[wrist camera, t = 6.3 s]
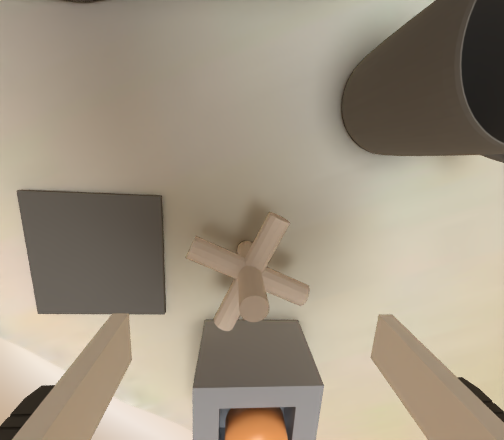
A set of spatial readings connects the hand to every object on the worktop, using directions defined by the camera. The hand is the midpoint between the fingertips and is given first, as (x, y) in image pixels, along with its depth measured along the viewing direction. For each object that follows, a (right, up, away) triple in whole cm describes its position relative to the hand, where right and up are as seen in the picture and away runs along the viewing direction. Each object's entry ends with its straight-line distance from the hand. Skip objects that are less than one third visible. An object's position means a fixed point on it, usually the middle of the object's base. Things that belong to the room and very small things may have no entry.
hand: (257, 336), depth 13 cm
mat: (-15, +3, +11) cm, 18 cm away
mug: (+14, +15, +10) cm, 23 cm away
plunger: (0, -11, +8) cm, 14 cm away
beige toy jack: (-1, +3, +12) cm, 12 cm away
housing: (-1, -9, +15) cm, 17 cm away
